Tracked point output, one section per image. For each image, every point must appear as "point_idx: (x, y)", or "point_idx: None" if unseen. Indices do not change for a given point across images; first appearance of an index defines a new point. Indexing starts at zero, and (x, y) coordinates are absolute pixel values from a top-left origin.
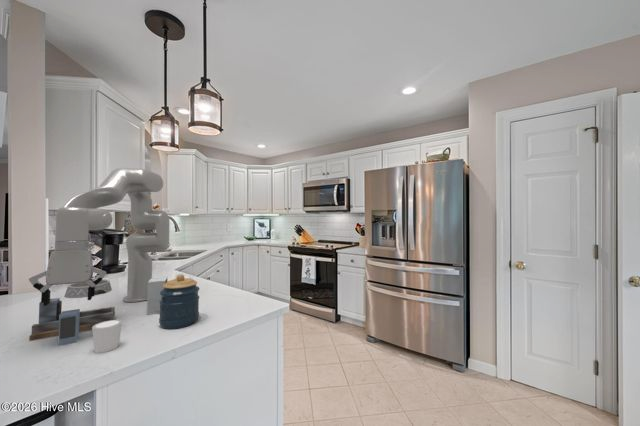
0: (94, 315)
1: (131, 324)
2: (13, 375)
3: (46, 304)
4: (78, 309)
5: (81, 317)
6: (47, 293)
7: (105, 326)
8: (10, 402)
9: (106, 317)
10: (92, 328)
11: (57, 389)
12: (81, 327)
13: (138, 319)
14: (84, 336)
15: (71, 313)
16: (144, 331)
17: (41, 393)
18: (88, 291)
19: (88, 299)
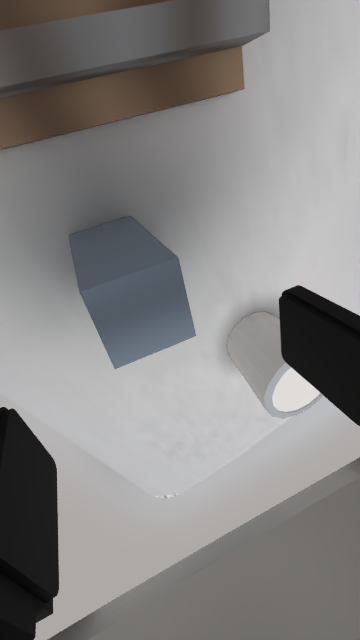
0: (163, 34)
1: (306, 117)
2: (96, 443)
3: (54, 472)
4: (175, 272)
5: (82, 47)
6: (55, 583)
7: (298, 401)
8: (162, 496)
9: (222, 47)
10: (265, 409)
11: (213, 469)
12: (103, 122)
13: (336, 27)
14: (151, 216)
15: (169, 345)
16: (338, 237)
17: (195, 478)
18: (338, 403)
19: (290, 362)
